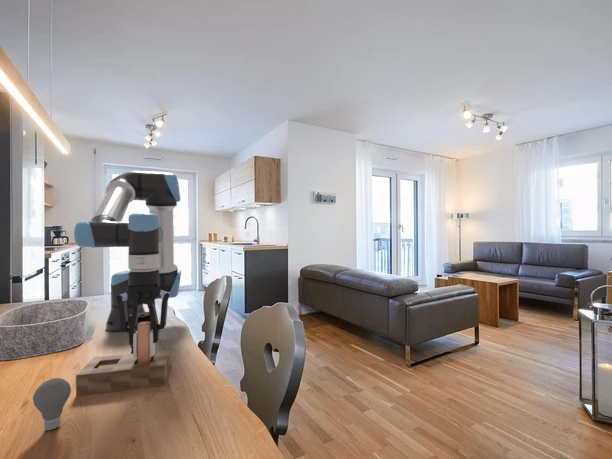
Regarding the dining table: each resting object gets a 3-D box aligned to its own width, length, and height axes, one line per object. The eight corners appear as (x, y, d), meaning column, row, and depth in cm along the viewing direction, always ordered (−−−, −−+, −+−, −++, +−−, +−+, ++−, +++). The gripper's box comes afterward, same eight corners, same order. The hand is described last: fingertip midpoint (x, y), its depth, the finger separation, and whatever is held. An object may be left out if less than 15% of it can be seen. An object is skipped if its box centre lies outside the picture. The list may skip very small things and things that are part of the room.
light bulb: (48, 419, 66) (47, 373, 66) (77, 418, 67) (77, 372, 67) (25, 438, 60) (24, 387, 60) (57, 437, 61) (57, 386, 61)
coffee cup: (143, 360, 96) (142, 318, 96) (120, 357, 98) (120, 316, 98) (161, 349, 105) (161, 311, 105) (140, 347, 106) (140, 309, 106)
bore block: (94, 375, 86) (94, 357, 86) (171, 366, 92) (171, 349, 91) (76, 395, 76) (76, 375, 76) (164, 384, 81) (164, 365, 81)
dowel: (139, 372, 86) (138, 322, 86) (152, 370, 87) (152, 321, 86) (135, 378, 82) (135, 326, 82) (149, 376, 83) (149, 324, 83)
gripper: (105, 272, 79) (105, 364, 79) (174, 270, 83) (174, 357, 83) (115, 269, 86) (115, 353, 86) (178, 267, 90) (178, 347, 90)
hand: (144, 355), depth 84 cm, fingers closed on dowel, 3 cm apart
